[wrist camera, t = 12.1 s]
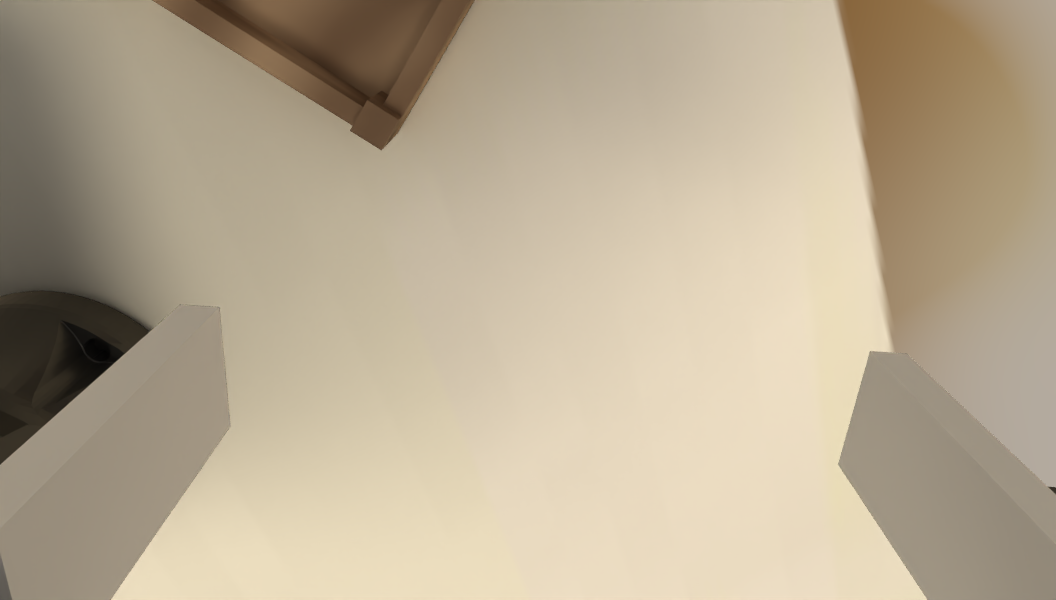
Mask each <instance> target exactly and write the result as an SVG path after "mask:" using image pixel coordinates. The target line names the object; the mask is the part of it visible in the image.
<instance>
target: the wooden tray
mask: <svg viewBox="0 0 1056 600" xmlns="http://www.w3.org/2000/svg"><path fill="white" fill-rule="evenodd" d="M153 1H154V2H156V3H157V4H159V5H161V6H162V7H164V8H165V9H167V10H169V11H170V12H172V13H173V14H175V15H177V16H178V17H180V18H181V19H183V20H185V21H186V22H188V23H189V24H191V25H193V26H194V27H196V28H197V29H199V30H201V31H202V32H204V33H205V34H207V35H209V36H210V37H212V38H213V39H215V40H217V41H218V42H220V43H221V44H223V45H225V46H226V47H228V48H229V49H231V50H233V51H234V52H236V53H237V54H239V55H241V56H242V57H244V58H245V59H247V60H249V61H250V62H252V63H253V64H255V65H257V66H258V67H260V68H261V69H263V70H265V71H266V72H268V73H269V74H271V75H273V76H274V77H276V78H277V79H279V80H281V81H282V82H284V83H285V84H287V85H289V86H290V87H292V88H293V89H295V90H297V91H298V92H300V93H301V94H303V95H305V96H306V97H308V98H309V99H311V100H313V101H314V102H316V103H317V104H319V105H321V106H322V107H324V108H325V109H327V110H329V111H330V112H332V113H333V114H335V115H337V116H338V117H340V118H341V119H343V120H345V121H346V122H348V123H349V124H351V125H353V126H352V128H351V130H350V131H351V132H353V133H355V134H356V135H358V136H359V137H361V138H363V139H364V140H366V141H367V142H369V143H371V144H372V145H374V146H375V147H377V148H379V149H380V150H382V149H383V148H384V147H385V146H386V145H387V144H388V143H389V142H390V141H391V140H392V139H393V137H394V136H395V135H396V134H397V133H398V132H399V130H400V128H401V126H402V125H403V123H404V121H405V120H406V118H407V116H408V114H409V113H410V111H411V109H412V107H413V106H414V104H415V102H416V101H417V99H418V97H419V95H420V94H421V92H422V90H423V88H424V87H425V85H426V83H427V82H428V80H429V78H430V76H431V75H432V73H433V71H434V69H435V68H436V66H437V64H438V63H439V61H440V59H441V57H442V56H443V54H444V52H445V50H446V49H447V47H448V45H449V44H450V42H451V40H452V38H453V37H454V35H455V33H456V31H457V30H458V28H459V26H460V24H461V23H462V21H463V19H464V18H465V16H466V14H467V12H468V11H469V9H470V7H471V5H472V4H473V2H474V0H153Z"/></svg>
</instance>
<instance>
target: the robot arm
mask: <svg viewBox="0 0 1056 600" xmlns="http://www.w3.org/2000/svg"><path fill="white" fill-rule="evenodd" d="M229 427H230V415H229V405H228V394H227V383H226V373H225V362H224V351H223V341H222V330H221V320H220V309H219V307H210V306H195V305H179V306H178V307H177V308H176V309H175V310H174V311H172V312H171V313H170V314H169V315H168V316H167V317H166V318H165V319H163V320H162V321H161V322H160V323H159V324H158V325H157V326H156V327H155V328H153V329H152V330H151V331H150V332H149V331H148V330H146V329H145V328H144V327H142V326H141V325H140V324H138V323H137V322H135V321H134V320H132V319H131V318H129V317H127V316H126V315H124V314H122V313H120V312H118V311H117V310H115V309H113V308H110V307H108V306H106V305H104V304H101V303H99V302H96V301H93V300H90V299H87V298H84V297H80V296H76V295H71V294H66V293H59V292H49V291H29V292H20V293H13V294H9V295H5V296H2V297H0V600H111V598H112V597H113V595H114V594H115V593H116V591H117V590H118V588H119V587H120V585H121V584H122V582H123V581H124V580H125V578H126V577H127V575H128V574H129V572H130V571H131V569H132V568H133V566H134V565H135V564H136V562H137V561H138V559H139V558H140V556H141V555H142V553H143V552H144V551H145V549H146V548H147V546H148V545H149V543H150V542H151V540H152V539H153V538H154V536H155V535H156V533H157V532H158V530H159V529H160V527H161V526H162V524H163V523H164V522H165V520H166V519H167V517H168V516H169V514H170V513H171V511H172V510H173V509H174V507H175V506H176V504H177V503H178V501H179V500H180V498H181V497H182V496H183V494H184V493H185V491H186V490H187V488H188V487H189V485H190V484H191V483H192V481H193V480H194V478H195V477H196V475H197V474H198V472H199V471H200V469H201V468H202V467H203V465H204V464H205V462H206V461H207V459H208V458H209V456H210V455H211V454H212V452H213V451H214V449H215V448H216V446H217V445H218V443H219V442H220V441H221V439H222V438H223V436H224V435H225V433H226V432H227V430H228V429H229ZM838 465H839V466H840V468H841V469H842V471H843V473H844V474H845V476H846V477H847V479H848V480H849V482H850V483H851V485H852V486H853V488H854V489H855V491H856V492H857V494H858V495H859V497H860V498H861V500H862V501H863V503H864V504H865V506H866V507H867V509H868V510H869V512H870V513H871V515H872V516H873V518H874V519H875V521H876V522H877V524H878V525H879V527H880V528H881V530H882V532H883V533H884V535H885V536H886V538H887V539H888V541H889V542H890V544H891V545H892V547H893V548H894V550H895V551H896V553H897V554H898V556H899V557H900V559H901V560H902V562H903V563H904V565H905V566H906V568H907V569H908V571H909V572H910V574H911V575H912V577H913V578H914V580H915V581H916V583H917V584H918V586H919V587H920V589H921V590H922V592H923V594H924V595H925V597H926V598H927V600H1056V488H1055V487H1047V486H1046V485H1045V484H1044V483H1043V482H1042V481H1041V480H1040V479H1039V478H1038V477H1037V476H1036V475H1035V474H1034V473H1032V471H1030V470H1029V469H1028V468H1027V467H1026V466H1025V465H1024V464H1023V463H1022V462H1021V461H1020V460H1019V459H1018V458H1017V457H1016V456H1015V455H1013V454H1012V453H1011V452H1010V451H1009V450H1008V449H1007V448H1006V447H1005V446H1004V445H1003V444H1002V443H1001V442H1000V441H999V440H997V438H996V437H995V436H993V435H992V434H991V433H990V432H989V431H988V430H987V429H986V428H985V427H984V426H983V425H982V424H981V423H980V422H979V421H978V420H977V419H975V418H974V417H973V416H972V415H971V414H970V413H969V412H968V411H967V410H966V409H965V408H964V407H963V406H962V405H960V404H959V403H958V401H956V400H955V399H954V398H953V397H952V396H951V395H950V394H949V393H948V392H947V391H946V390H945V389H944V388H943V387H942V386H941V385H939V384H938V383H937V382H936V381H935V380H934V379H933V378H932V377H931V376H930V375H929V374H928V373H927V372H926V371H925V370H924V369H923V368H922V367H921V366H919V365H918V364H917V363H916V362H915V361H914V360H913V359H912V358H911V357H910V356H909V355H908V354H904V353H889V352H874V351H870V353H869V357H868V360H867V364H866V367H865V371H864V374H863V378H862V381H861V385H860V389H859V392H858V396H857V399H856V403H855V406H854V410H853V413H852V417H851V421H850V424H849V428H848V431H847V435H846V438H845V442H844V445H843V449H842V452H841V456H840V460H839V463H838Z"/></svg>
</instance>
